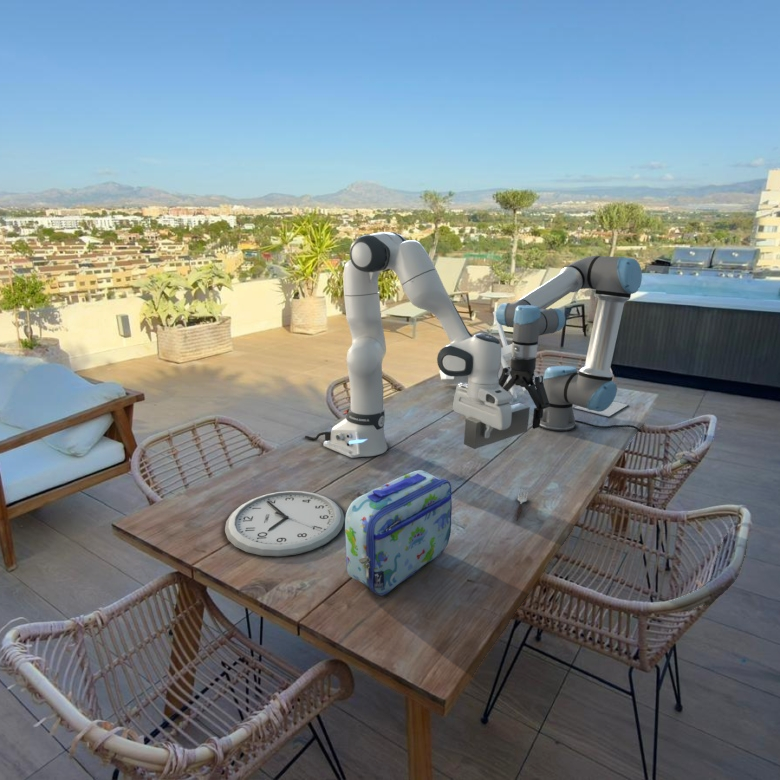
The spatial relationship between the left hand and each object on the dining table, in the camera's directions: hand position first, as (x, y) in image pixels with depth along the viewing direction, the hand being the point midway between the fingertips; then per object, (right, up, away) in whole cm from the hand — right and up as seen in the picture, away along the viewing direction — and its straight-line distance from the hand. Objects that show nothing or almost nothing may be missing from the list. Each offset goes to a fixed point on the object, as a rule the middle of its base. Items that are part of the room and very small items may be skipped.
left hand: (478, 434), depth 156 cm
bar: (+7, -2, +6) cm, 9 cm away
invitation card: (+65, +6, +70) cm, 96 cm away
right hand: (+14, +3, +11) cm, 18 cm away
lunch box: (-24, -27, -39) cm, 54 cm away
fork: (+9, -19, -13) cm, 25 cm away
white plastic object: (+15, +12, +87) cm, 89 cm away
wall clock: (-53, -21, -22) cm, 61 cm away
